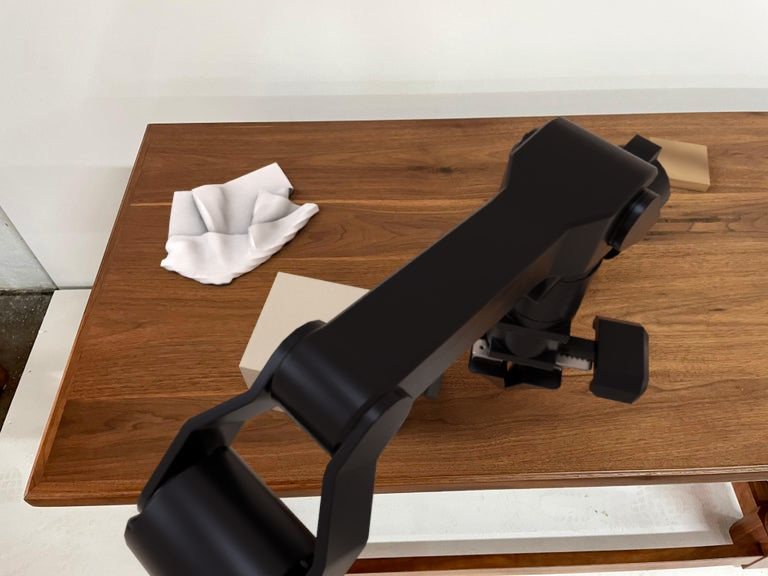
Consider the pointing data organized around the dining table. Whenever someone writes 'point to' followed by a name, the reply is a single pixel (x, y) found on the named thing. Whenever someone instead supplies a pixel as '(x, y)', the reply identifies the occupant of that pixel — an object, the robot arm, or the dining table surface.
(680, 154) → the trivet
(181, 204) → the cloth
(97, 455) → the dining table surface
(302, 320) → the beige box
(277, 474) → the dining table surface
